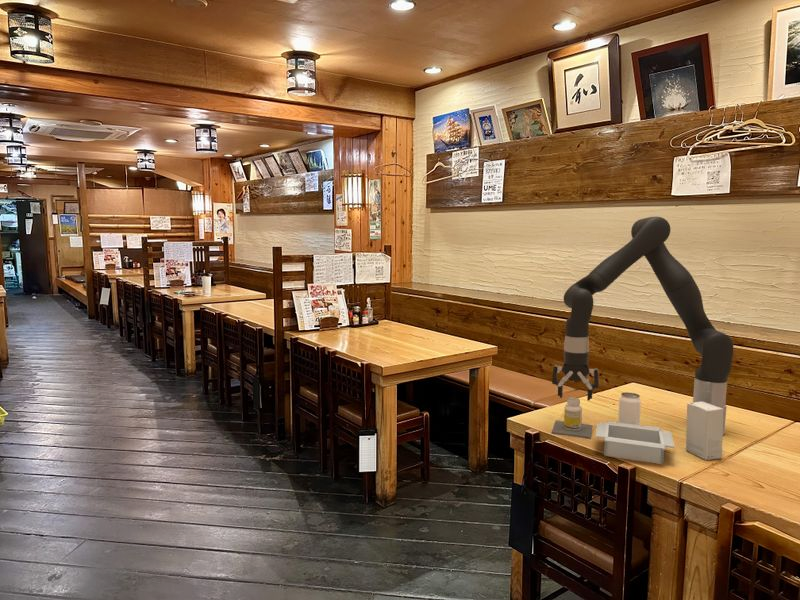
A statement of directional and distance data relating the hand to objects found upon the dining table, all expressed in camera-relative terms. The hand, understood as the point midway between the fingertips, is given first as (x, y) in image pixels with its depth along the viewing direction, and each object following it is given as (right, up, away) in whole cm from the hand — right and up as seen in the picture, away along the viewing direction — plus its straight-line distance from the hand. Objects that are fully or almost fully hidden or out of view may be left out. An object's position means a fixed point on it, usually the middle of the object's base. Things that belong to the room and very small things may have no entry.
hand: (574, 398), depth 180 cm
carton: (+12, -13, -16) cm, 24 cm away
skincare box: (+32, -13, -18) cm, 39 cm away
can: (+18, -11, +2) cm, 21 cm away
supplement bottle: (0, -10, +1) cm, 10 cm away
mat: (0, -11, +1) cm, 11 cm away
